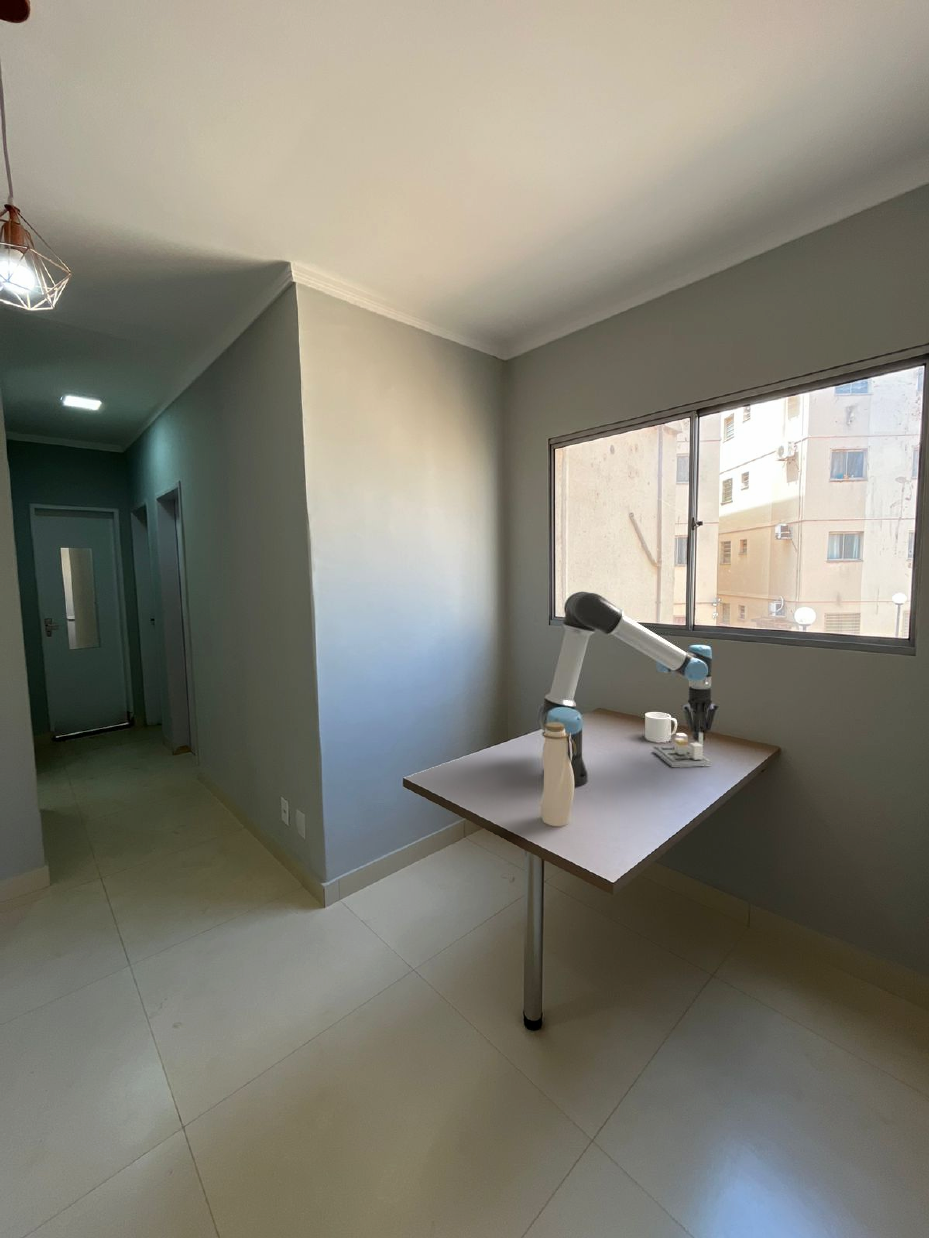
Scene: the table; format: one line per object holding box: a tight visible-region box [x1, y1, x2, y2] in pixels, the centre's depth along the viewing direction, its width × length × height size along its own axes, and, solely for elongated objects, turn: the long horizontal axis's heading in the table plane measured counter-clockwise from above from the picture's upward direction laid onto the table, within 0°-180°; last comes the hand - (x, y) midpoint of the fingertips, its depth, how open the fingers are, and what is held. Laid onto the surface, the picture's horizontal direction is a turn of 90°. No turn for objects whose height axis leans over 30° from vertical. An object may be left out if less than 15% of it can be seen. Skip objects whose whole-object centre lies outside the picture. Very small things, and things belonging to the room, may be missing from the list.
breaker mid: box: [674, 737, 687, 754], centre depth 186 cm, size 3×4×5 cm
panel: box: [652, 745, 711, 768], centre depth 187 cm, size 14×16×2 cm
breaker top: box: [674, 732, 689, 749], centre depth 192 cm, size 3×4×5 cm
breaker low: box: [689, 742, 704, 760], centre depth 181 cm, size 3×4×5 cm
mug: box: [644, 711, 678, 742], centre depth 208 cm, size 13×10×10 cm
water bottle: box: [540, 722, 576, 827], centre depth 142 cm, size 10×9×28 cm
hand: (699, 748), depth 187 cm, fingers closed
